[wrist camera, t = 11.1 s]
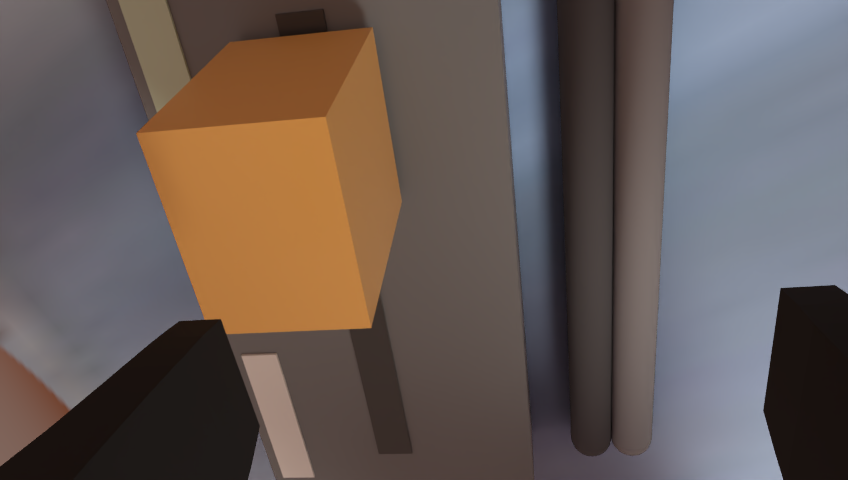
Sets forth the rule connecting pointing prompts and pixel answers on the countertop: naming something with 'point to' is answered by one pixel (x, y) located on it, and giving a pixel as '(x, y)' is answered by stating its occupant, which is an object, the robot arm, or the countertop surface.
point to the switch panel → (409, 255)
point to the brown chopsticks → (613, 211)
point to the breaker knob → (281, 182)
